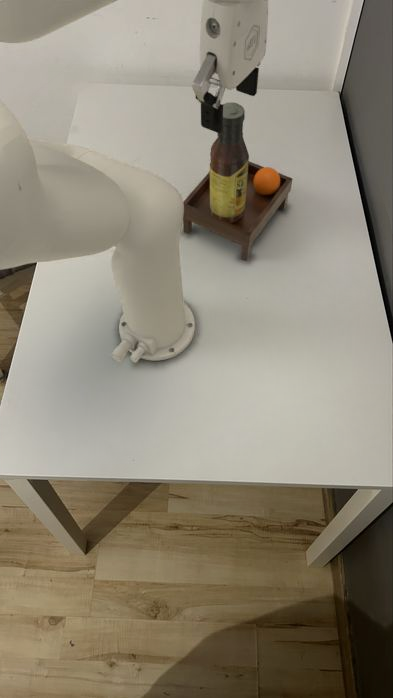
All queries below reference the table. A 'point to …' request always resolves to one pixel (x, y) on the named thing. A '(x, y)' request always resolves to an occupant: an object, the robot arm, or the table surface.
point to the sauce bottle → (229, 167)
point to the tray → (253, 216)
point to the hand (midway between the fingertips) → (229, 110)
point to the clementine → (266, 181)
